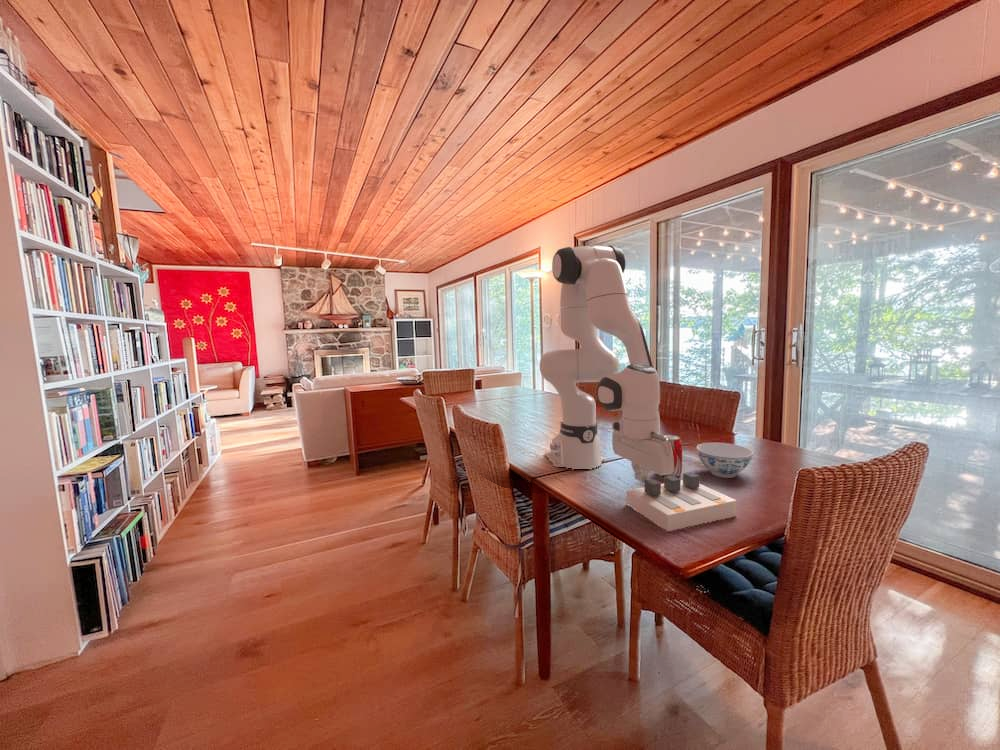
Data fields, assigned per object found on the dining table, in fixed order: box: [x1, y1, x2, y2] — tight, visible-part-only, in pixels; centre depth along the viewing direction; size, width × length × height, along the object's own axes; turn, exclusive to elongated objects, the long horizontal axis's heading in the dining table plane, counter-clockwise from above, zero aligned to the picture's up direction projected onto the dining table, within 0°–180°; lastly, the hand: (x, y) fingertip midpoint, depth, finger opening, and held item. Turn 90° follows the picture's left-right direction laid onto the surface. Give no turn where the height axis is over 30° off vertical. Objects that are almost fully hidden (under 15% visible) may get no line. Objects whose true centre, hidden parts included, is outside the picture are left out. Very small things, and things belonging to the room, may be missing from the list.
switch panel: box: [626, 479, 738, 530], centre depth 99 cm, size 15×20×4 cm
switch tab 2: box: [663, 475, 682, 492], centre depth 101 cm, size 3×2×3 cm
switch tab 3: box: [682, 471, 700, 489], centre depth 103 cm, size 3×2×3 cm
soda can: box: [662, 433, 683, 478], centre depth 123 cm, size 7×7×12 cm
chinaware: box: [696, 442, 754, 479], centre depth 122 cm, size 15×15×8 cm
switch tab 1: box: [644, 478, 662, 496], centre depth 99 cm, size 3×2×3 cm
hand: (640, 480), depth 103 cm, fingers closed
